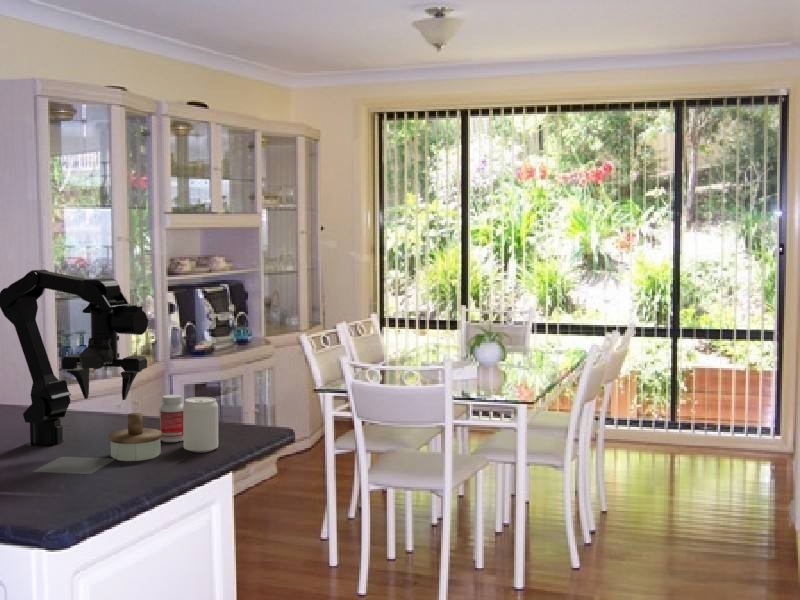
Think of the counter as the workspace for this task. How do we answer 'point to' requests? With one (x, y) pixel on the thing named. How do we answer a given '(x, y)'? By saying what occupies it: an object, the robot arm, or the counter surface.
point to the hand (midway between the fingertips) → (105, 399)
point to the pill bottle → (171, 418)
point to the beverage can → (200, 424)
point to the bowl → (135, 451)
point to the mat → (74, 465)
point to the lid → (135, 432)
